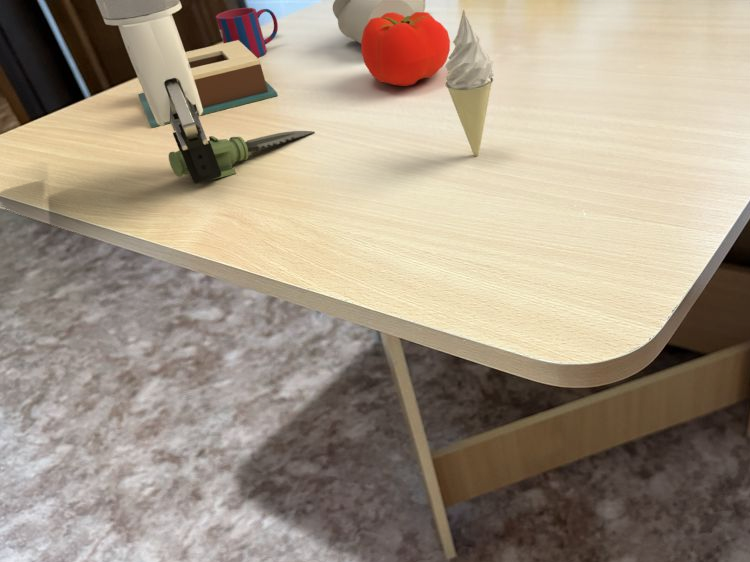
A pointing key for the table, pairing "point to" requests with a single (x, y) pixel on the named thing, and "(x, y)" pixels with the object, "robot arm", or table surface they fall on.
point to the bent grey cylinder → (370, 13)
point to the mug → (245, 28)
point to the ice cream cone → (470, 82)
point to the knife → (234, 150)
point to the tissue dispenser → (223, 78)
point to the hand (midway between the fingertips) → (202, 169)
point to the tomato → (404, 47)
